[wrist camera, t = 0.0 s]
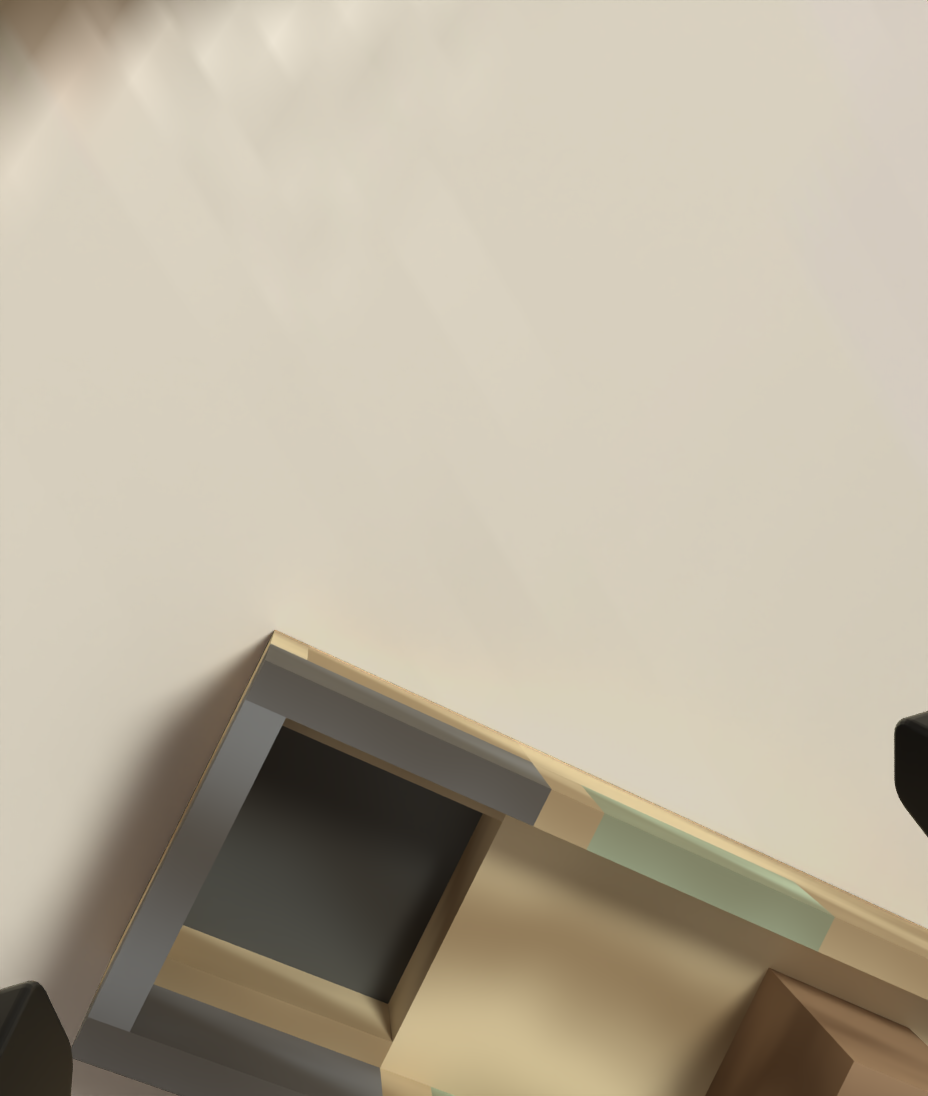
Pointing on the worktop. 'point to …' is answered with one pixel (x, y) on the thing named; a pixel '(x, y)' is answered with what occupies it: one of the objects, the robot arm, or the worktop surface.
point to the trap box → (454, 917)
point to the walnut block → (818, 1048)
